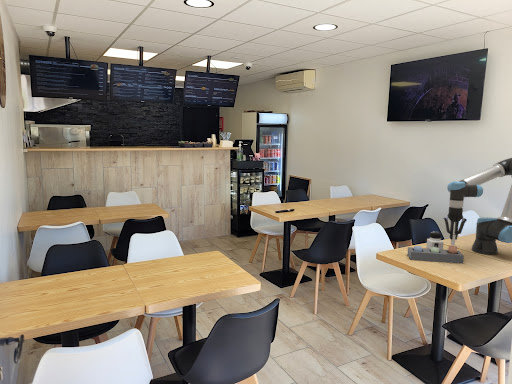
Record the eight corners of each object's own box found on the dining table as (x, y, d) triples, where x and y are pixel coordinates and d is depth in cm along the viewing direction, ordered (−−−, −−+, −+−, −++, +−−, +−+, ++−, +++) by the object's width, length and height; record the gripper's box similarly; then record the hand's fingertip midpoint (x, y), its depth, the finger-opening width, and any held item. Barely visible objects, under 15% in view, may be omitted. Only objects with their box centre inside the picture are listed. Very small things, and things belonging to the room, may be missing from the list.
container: (442, 253, 250) (444, 233, 248) (431, 253, 250) (432, 233, 248) (437, 249, 257) (439, 231, 256) (426, 249, 257) (427, 230, 256)
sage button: (437, 255, 239) (438, 247, 238) (439, 257, 234) (440, 249, 233) (429, 254, 240) (430, 246, 239) (431, 256, 235) (431, 248, 234)
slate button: (420, 253, 241) (421, 246, 240) (422, 256, 236) (422, 248, 235) (412, 253, 242) (413, 245, 241) (414, 255, 237) (414, 247, 236)
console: (457, 258, 239) (458, 250, 238) (463, 263, 228) (464, 255, 228) (407, 254, 246) (407, 247, 245) (410, 259, 235) (410, 252, 234)
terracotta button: (455, 253, 236) (455, 245, 235) (457, 255, 232) (458, 247, 231) (446, 252, 237) (447, 245, 237) (449, 255, 233) (449, 247, 232)
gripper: (465, 206, 233) (462, 243, 236) (442, 205, 235) (439, 242, 239) (469, 208, 225) (466, 247, 229) (446, 207, 228) (442, 245, 231)
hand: (452, 244), depth 234 cm, fingers closed
